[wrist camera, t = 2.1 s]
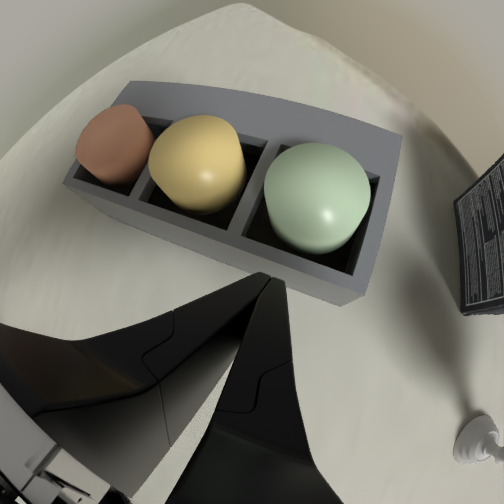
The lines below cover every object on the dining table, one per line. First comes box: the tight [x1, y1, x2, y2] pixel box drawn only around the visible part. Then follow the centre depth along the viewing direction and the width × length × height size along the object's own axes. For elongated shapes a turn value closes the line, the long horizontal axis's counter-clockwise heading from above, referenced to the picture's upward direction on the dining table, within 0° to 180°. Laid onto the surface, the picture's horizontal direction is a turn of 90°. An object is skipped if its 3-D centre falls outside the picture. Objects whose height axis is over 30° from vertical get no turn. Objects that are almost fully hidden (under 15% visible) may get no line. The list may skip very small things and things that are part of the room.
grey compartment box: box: [62, 81, 402, 307], centre depth 21 cm, size 11×22×8 cm, turn 68°
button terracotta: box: [76, 104, 156, 187], centre depth 18 cm, size 5×5×3 cm
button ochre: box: [148, 115, 247, 215], centre depth 17 cm, size 5×5×3 cm
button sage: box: [264, 143, 370, 255], centre depth 15 cm, size 5×5×3 cm
